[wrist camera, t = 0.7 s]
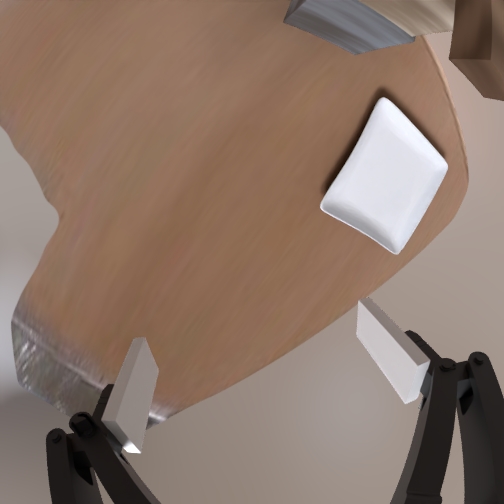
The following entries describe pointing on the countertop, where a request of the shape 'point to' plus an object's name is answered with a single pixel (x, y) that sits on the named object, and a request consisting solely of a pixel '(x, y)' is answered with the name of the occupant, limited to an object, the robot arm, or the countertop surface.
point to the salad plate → (386, 179)
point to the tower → (371, 21)
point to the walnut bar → (480, 44)
